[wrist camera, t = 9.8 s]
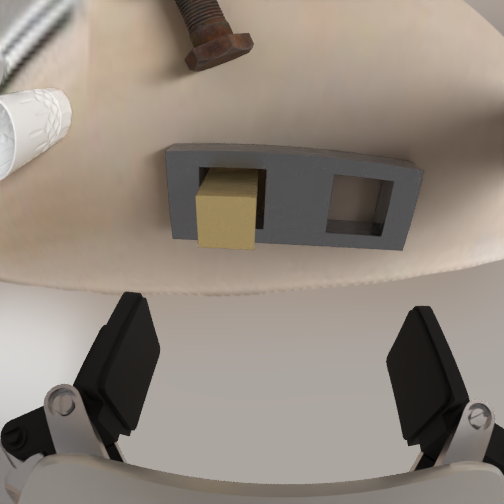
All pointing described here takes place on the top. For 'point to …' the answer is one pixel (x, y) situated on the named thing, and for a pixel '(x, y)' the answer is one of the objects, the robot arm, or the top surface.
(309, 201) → the grey peg board
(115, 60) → the top surface
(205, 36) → the bolt
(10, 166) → the white cup
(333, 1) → the top surface
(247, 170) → the gold block
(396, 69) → the top surface
